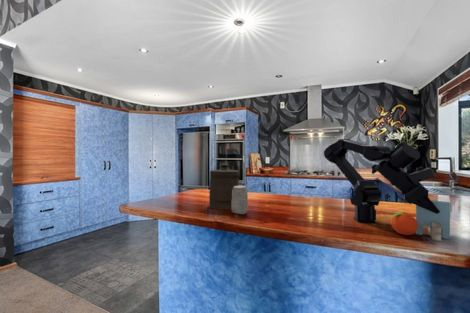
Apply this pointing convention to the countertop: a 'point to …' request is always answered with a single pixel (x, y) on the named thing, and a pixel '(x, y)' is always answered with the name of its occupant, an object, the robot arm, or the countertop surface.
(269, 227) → the countertop surface
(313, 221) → the countertop surface
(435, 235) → the birch slotted plate
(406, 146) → the robot arm
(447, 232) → the teal slotted plate
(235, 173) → the wooden container
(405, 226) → the clementine
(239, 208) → the carving
